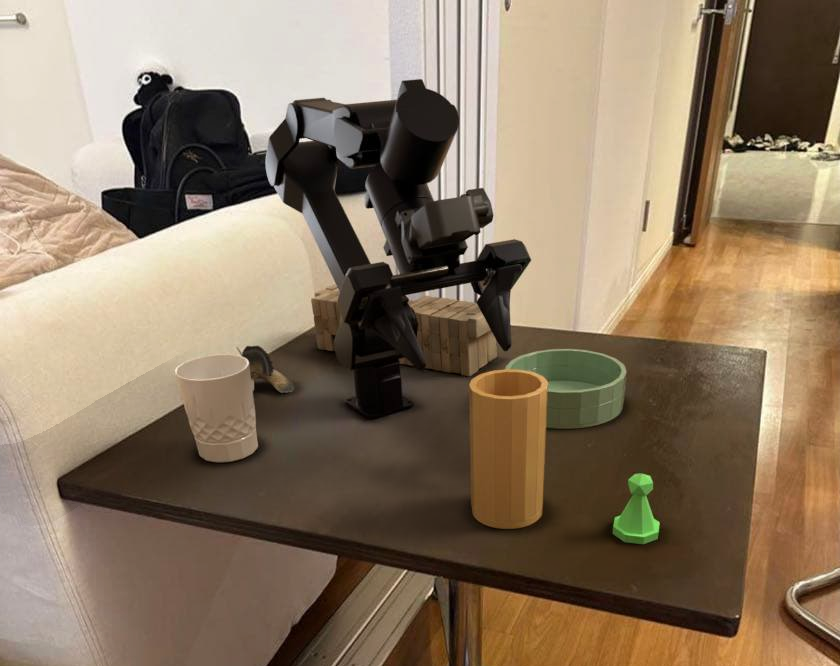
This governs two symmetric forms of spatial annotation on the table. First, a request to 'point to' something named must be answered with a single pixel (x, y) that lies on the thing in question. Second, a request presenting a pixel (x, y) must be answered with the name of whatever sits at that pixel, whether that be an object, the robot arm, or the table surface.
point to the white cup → (219, 405)
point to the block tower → (425, 331)
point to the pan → (577, 385)
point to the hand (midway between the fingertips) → (466, 358)
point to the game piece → (637, 514)
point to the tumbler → (508, 447)
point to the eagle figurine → (265, 369)
